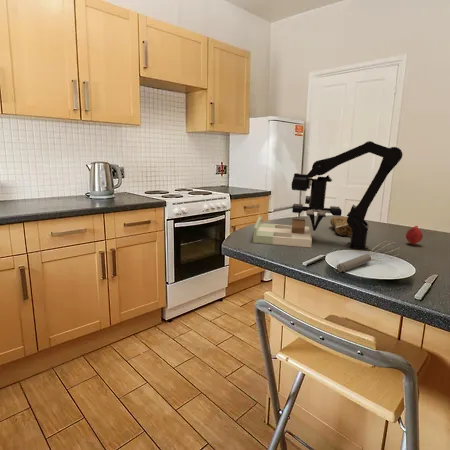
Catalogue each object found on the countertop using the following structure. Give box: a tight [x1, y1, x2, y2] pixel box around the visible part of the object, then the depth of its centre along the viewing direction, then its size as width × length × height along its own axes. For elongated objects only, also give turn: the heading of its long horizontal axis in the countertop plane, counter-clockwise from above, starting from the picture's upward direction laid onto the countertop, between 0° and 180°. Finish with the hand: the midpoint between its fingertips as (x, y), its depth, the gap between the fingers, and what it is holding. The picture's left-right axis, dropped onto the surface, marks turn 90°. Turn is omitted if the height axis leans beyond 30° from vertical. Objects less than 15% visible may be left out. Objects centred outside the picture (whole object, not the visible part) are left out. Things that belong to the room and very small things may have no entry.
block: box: [291, 218, 306, 234], centre depth 136 cm, size 5×5×5 cm
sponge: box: [329, 216, 352, 238], centre depth 152 cm, size 13×8×20 cm
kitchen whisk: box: [334, 240, 401, 274], centre depth 110 cm, size 6×34×6 cm, turn 125°
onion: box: [405, 225, 424, 246], centre depth 134 cm, size 6×6×8 cm
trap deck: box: [252, 216, 313, 248], centre depth 138 cm, size 22×22×6 cm
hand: (314, 230), depth 136 cm, fingers closed
